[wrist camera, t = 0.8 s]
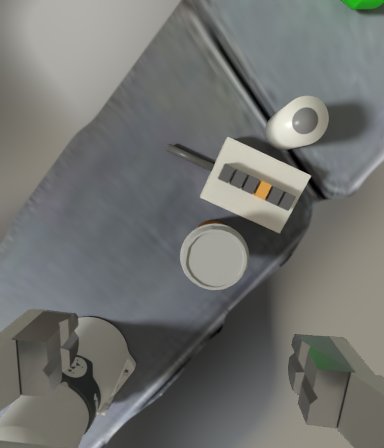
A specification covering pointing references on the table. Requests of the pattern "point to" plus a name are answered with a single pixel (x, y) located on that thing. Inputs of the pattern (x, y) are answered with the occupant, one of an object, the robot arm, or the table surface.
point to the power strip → (259, 172)
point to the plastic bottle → (363, 4)
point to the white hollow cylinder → (297, 123)
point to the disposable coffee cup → (214, 255)
